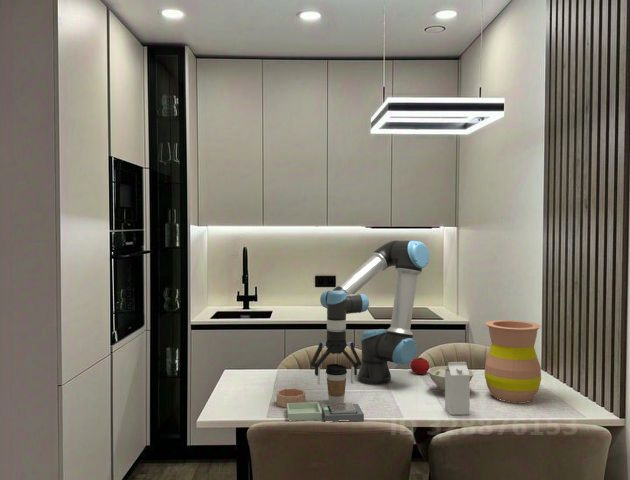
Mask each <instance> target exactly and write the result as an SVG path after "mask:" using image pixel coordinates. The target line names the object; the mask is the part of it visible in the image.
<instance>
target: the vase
mask: <svg viewBox="0 0 630 480" xmlns="http://www.w3.org/2000/svg"><path fill="white" fill-rule="evenodd" d="M485 325H486V326H487V327H488V332H489V337H490V341H491V346H490V349H489V352H488V355H487V357H486V360H485V364H484V378H485V382H486V386H487V389H488V390H489V392H490V394H491V395H492V397H493V396H494V397H495V398H494V397H493V398H494V399H496V398H498V399H501V400H505V401H510V402H527V401H530V402H531V400H532V401H533V400H534V398H535V397H536V395H537V394H538V392H539V388H540V385H541V381H542V370H541V364H540V362H539V358H538V355H537V352H536V349H535V344H536V340H537V335H538V330H539V329H540V328H541V327H542V325H540V324H539V323H536V322H530V321H525V320H513V319H512V320H509V319H508V320H507V319H502V320H501V319H500V320H499V319H498V320H489V321H486V322H485ZM498 399H497V400H498ZM510 402H509V403H510ZM527 403H528V402H527Z"/></svg>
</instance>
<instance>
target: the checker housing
mask: <svg viewBox="0 0 630 480" xmlns="http://www.w3.org/2000/svg"><path fill="white" fill-rule="evenodd" d="M353 405H354V407H355V409H356V413H347V414H332V413H331V411H330V408H329V404H321V411H322V418H323V420H324V422H325V421H339V420H349V421H355V422H365V413H364V412H363V410H362V408H361V407H360V405H359V403H353Z"/></svg>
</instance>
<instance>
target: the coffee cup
mask: <svg viewBox="0 0 630 480" xmlns="http://www.w3.org/2000/svg"><path fill="white" fill-rule="evenodd" d="M347 373H348V370H347V367H346V366H345V365H342V364H337V363H329V364H327V365H326V370H325V374H326V376H327V377H326V382H327V383H326V385H327V393H328V404H329V403H345V393H346V384H347V383H346V382H347Z"/></svg>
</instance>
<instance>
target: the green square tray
mask: <svg viewBox="0 0 630 480" xmlns="http://www.w3.org/2000/svg"><path fill="white" fill-rule="evenodd" d="M286 414H287V421H288V420H308V421H322V420H323V414H322V407H320V402H319V401H318V402H317V401H312V402H311V401H309V402H307V401H305V403H287V408H286Z"/></svg>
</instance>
